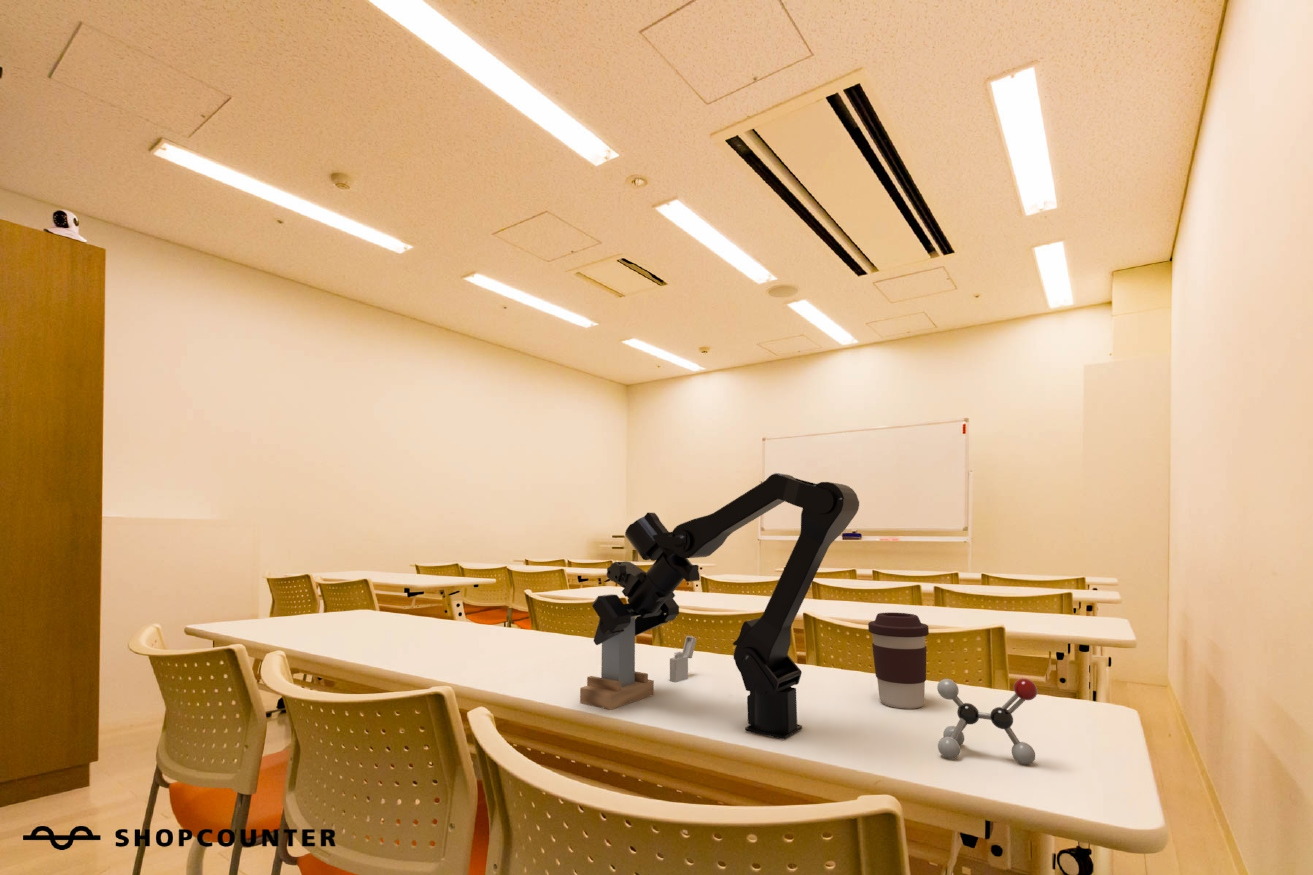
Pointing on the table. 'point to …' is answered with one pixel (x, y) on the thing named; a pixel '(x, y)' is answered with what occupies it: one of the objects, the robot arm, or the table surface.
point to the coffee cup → (900, 659)
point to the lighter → (682, 661)
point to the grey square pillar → (620, 656)
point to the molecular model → (998, 716)
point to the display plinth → (615, 691)
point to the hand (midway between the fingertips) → (612, 639)
